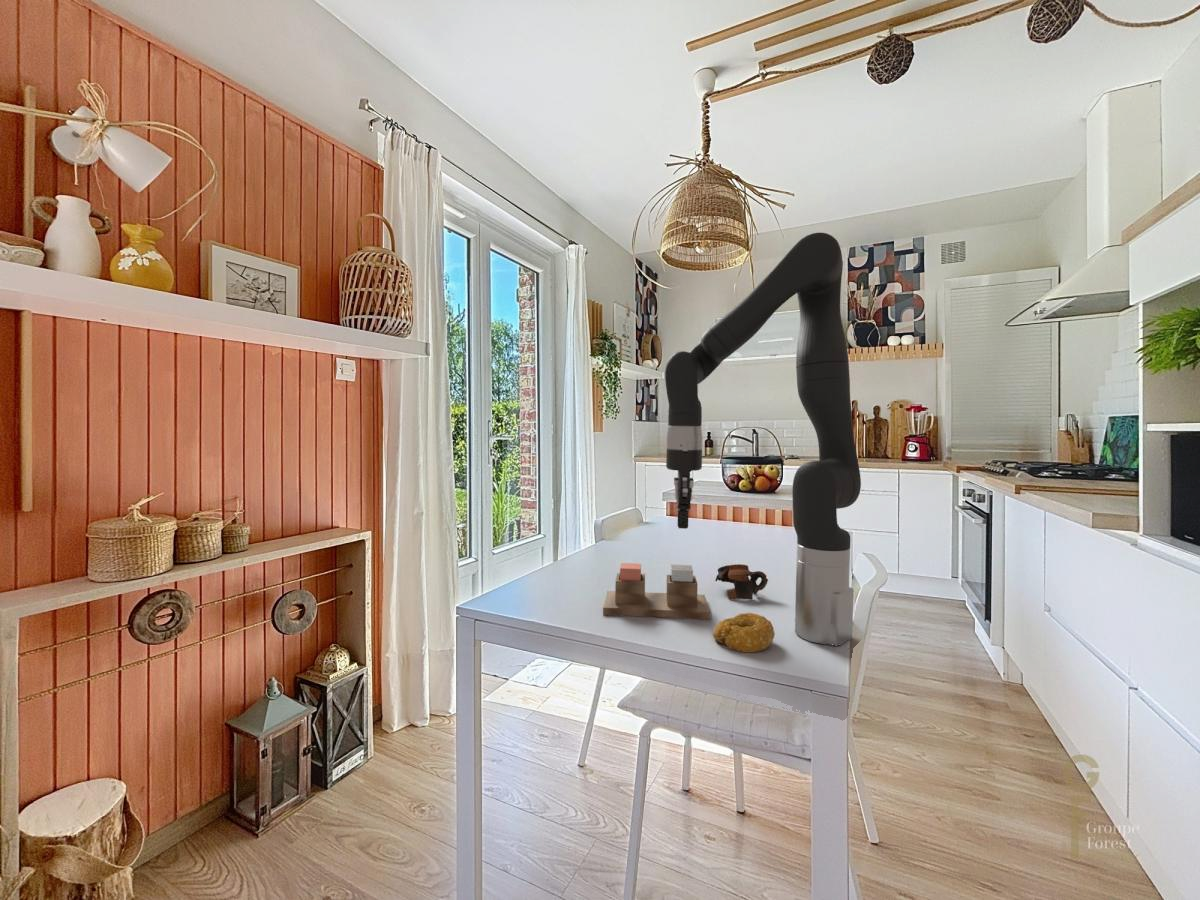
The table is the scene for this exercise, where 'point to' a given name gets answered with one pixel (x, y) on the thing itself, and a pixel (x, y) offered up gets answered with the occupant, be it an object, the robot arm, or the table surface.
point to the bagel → (745, 632)
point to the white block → (682, 573)
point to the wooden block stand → (656, 600)
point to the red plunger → (630, 572)
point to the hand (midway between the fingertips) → (682, 527)
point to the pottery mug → (741, 581)
